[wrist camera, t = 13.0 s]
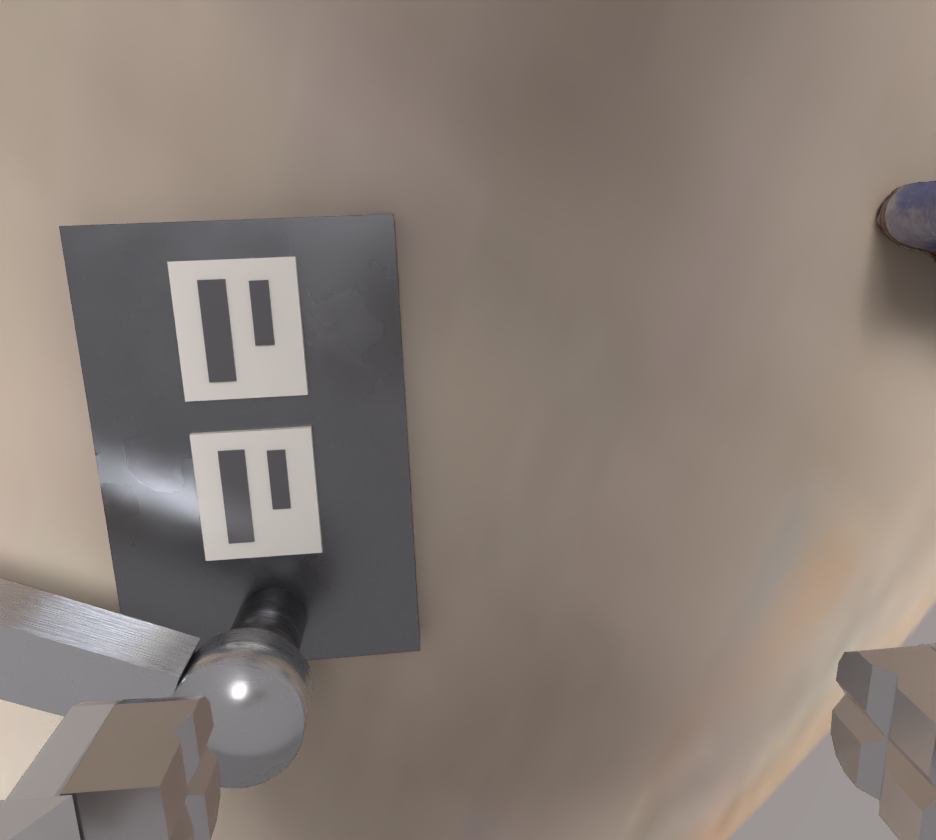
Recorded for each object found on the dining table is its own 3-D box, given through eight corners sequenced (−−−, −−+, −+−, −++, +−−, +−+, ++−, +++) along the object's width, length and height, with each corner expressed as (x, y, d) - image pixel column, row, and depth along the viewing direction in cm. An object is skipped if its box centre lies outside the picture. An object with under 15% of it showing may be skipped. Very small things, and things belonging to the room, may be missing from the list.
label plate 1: (169, 261, 27) (166, 261, 26) (296, 256, 27) (294, 256, 27) (187, 400, 28) (184, 402, 27) (308, 393, 28) (307, 395, 28)
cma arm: (-305, 584, 23) (-399, 627, 20) (-278, 460, 22) (-372, 487, 20) (289, 750, 26) (276, 807, 24) (330, 646, 26) (321, 692, 23)
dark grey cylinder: (234, 590, 30) (205, 647, 25) (303, 585, 30) (287, 641, 26) (242, 652, 30) (214, 718, 26) (309, 646, 30) (294, 711, 26)
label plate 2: (191, 433, 28) (188, 435, 28) (311, 426, 28) (310, 428, 28) (207, 557, 29) (205, 562, 29) (322, 549, 30) (321, 553, 29)
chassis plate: (71, 227, 27) (59, 226, 26) (393, 215, 28) (393, 214, 27) (139, 661, 31) (130, 674, 30) (419, 638, 32) (420, 650, 31)
